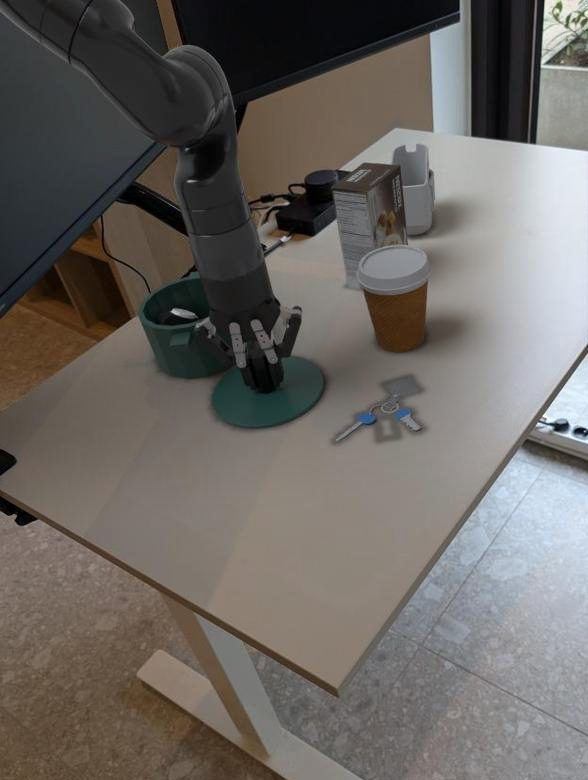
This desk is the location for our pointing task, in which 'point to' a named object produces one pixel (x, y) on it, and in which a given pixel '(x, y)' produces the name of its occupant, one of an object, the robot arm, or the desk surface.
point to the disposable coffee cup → (396, 294)
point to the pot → (180, 329)
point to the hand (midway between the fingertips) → (265, 384)
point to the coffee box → (369, 213)
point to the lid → (267, 393)
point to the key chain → (397, 391)
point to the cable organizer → (416, 187)
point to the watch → (174, 312)
